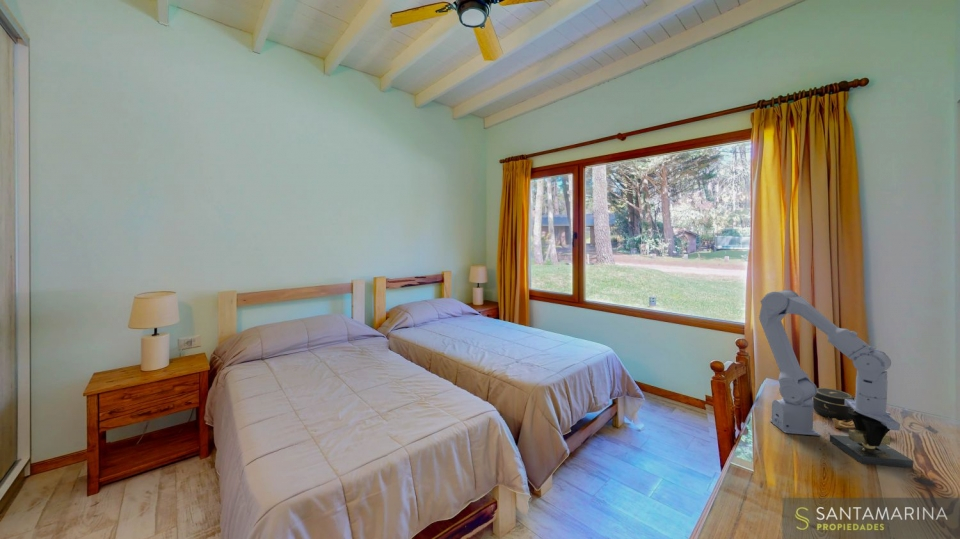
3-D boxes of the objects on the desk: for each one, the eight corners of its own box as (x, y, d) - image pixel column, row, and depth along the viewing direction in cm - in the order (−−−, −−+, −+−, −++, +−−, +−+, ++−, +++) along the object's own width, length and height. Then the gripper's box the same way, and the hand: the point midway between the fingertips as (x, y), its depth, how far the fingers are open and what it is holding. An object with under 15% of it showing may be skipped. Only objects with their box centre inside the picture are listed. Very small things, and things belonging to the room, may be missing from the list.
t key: (854, 454, 96) (855, 433, 95) (847, 449, 98) (848, 429, 98) (890, 457, 94) (891, 436, 94) (882, 452, 96) (883, 431, 96)
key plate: (861, 463, 92) (861, 455, 92) (829, 441, 103) (829, 434, 102) (913, 468, 90) (913, 460, 89) (874, 444, 100) (875, 437, 100)
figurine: (895, 425, 102) (841, 410, 107) (891, 445, 102) (838, 429, 107) (876, 419, 110) (827, 405, 115) (873, 438, 109) (824, 423, 114)
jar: (807, 412, 121) (807, 390, 120) (819, 405, 125) (819, 385, 125) (847, 424, 112) (848, 401, 112) (858, 417, 117) (859, 395, 116)
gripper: (915, 407, 87) (913, 459, 88) (865, 385, 101) (863, 430, 102) (881, 405, 89) (879, 456, 89) (836, 384, 103) (835, 428, 104)
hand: (868, 442), depth 96 cm, fingers closed on t key, 2 cm apart
